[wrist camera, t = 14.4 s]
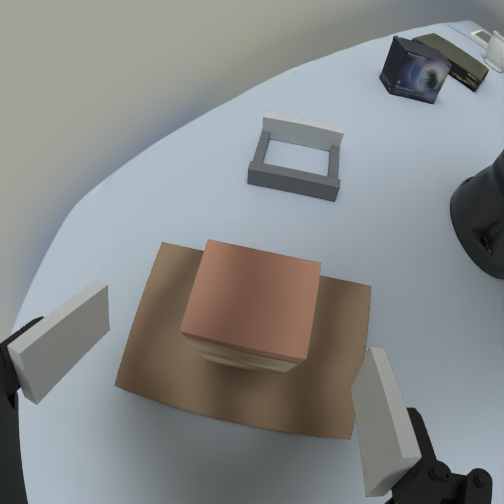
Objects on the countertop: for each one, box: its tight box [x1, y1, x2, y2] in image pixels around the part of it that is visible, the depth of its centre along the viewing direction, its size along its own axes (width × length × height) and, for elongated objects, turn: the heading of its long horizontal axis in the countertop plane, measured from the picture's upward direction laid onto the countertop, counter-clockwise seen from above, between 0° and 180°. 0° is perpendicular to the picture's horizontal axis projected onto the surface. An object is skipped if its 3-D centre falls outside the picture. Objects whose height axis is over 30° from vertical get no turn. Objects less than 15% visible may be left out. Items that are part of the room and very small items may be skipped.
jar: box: [484, 31, 504, 72], centre depth 63 cm, size 11×10×15 cm
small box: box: [380, 36, 452, 104], centre depth 43 cm, size 11×6×10 cm, turn 91°
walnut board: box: [115, 242, 371, 439], centre depth 25 cm, size 20×14×2 cm
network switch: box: [412, 33, 489, 91], centre depth 58 cm, size 23×24×5 cm
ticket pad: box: [180, 239, 321, 376], centre depth 20 cm, size 6×5×11 cm
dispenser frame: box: [248, 112, 344, 201], centre depth 35 cm, size 10×9×4 cm
